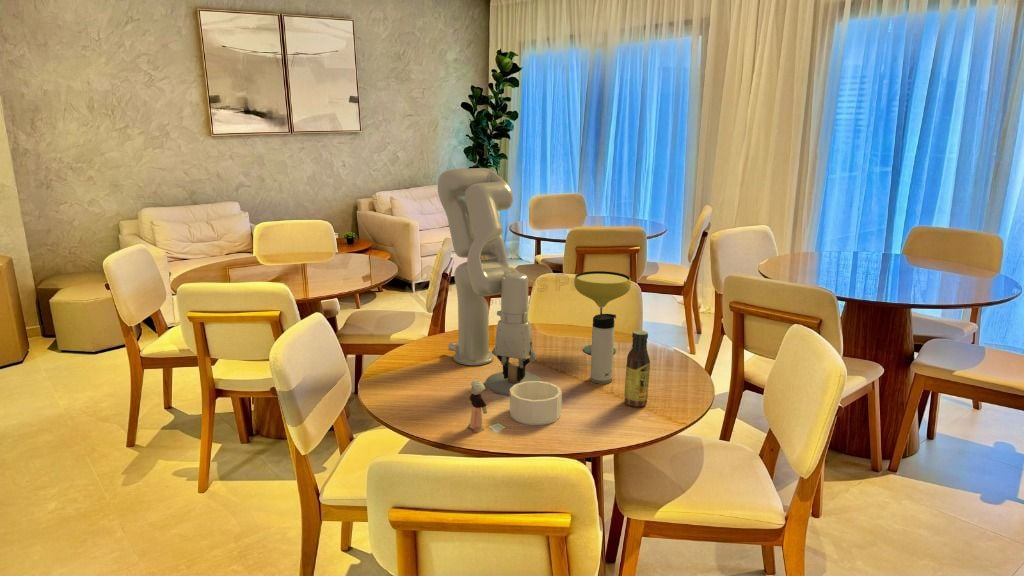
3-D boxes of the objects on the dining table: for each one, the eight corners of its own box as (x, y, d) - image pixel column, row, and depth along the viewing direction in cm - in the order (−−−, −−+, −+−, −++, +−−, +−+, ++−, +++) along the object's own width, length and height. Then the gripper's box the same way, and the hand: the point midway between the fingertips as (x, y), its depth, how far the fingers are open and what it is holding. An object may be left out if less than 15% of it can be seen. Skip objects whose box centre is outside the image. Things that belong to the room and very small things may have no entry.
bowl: (501, 419, 168) (502, 395, 167) (521, 400, 180) (522, 378, 178) (550, 429, 163) (550, 404, 162) (567, 409, 175) (568, 386, 173)
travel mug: (612, 385, 191) (615, 318, 186) (589, 383, 192) (592, 316, 188) (613, 377, 197) (616, 312, 192) (591, 375, 198) (593, 310, 194)
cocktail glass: (594, 338, 233) (597, 268, 227) (637, 350, 220) (642, 277, 214) (561, 350, 220) (563, 276, 214) (605, 364, 208) (608, 286, 202)
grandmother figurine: (460, 426, 164) (460, 378, 161) (472, 421, 167) (472, 374, 164) (481, 436, 159) (481, 387, 156) (493, 431, 162) (493, 383, 159)
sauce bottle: (642, 409, 175) (646, 338, 170) (620, 404, 178) (623, 333, 173) (651, 401, 180) (655, 331, 175) (629, 396, 183) (633, 327, 179)
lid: (478, 392, 186) (478, 371, 184) (496, 372, 201) (496, 352, 199) (533, 399, 181) (533, 378, 180) (547, 378, 196) (548, 358, 195)
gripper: (481, 316, 186) (482, 378, 190) (537, 324, 179) (535, 387, 184) (493, 310, 193) (493, 369, 197) (546, 317, 186) (545, 378, 191)
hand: (513, 377), depth 190 cm, fingers closed on lid, 3 cm apart
